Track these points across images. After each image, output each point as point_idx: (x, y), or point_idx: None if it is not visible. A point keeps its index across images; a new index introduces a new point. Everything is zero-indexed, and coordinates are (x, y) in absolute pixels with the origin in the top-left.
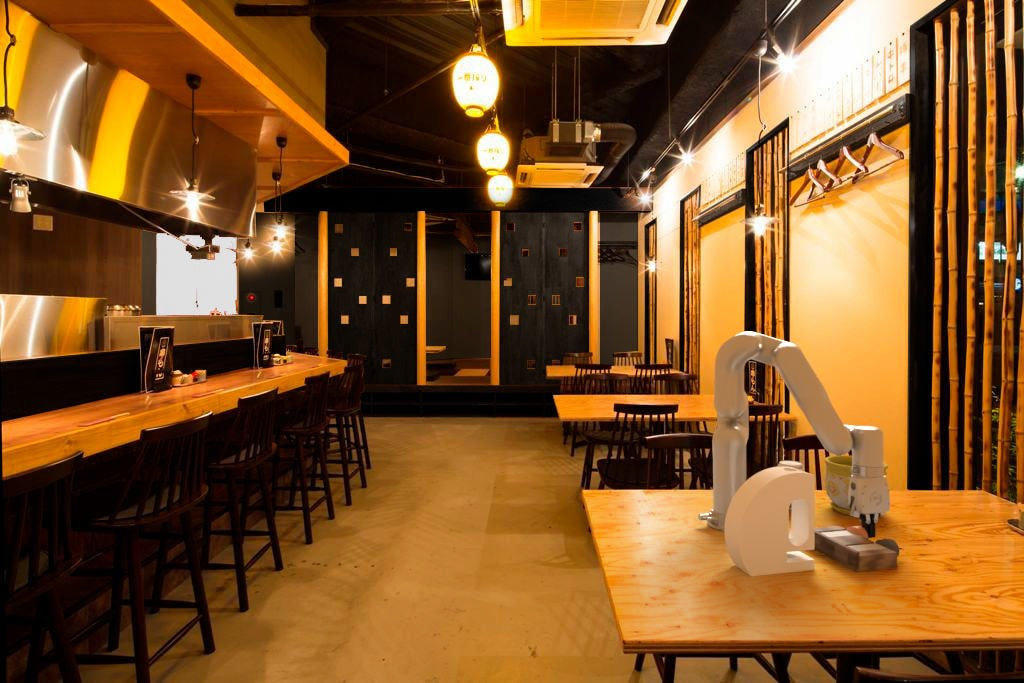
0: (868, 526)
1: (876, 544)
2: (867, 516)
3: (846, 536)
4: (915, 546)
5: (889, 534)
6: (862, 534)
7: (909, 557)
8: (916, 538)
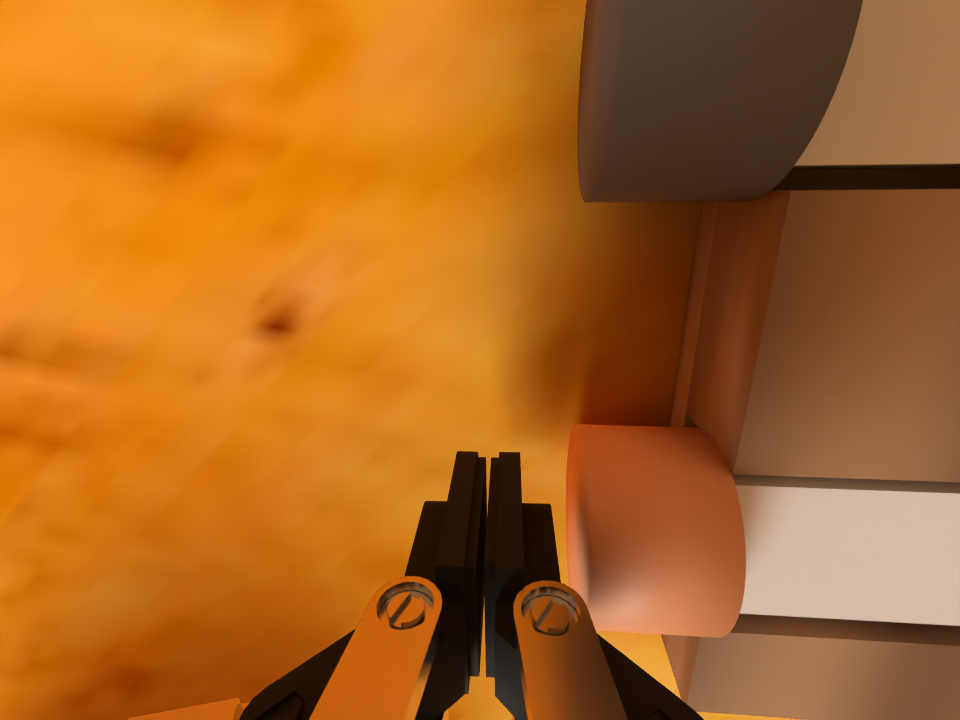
0: (524, 561)
1: (824, 117)
2: (587, 707)
3: (955, 457)
4: (110, 328)
5: (165, 569)
6: (660, 471)
7: (349, 97)
8: (3, 463)
